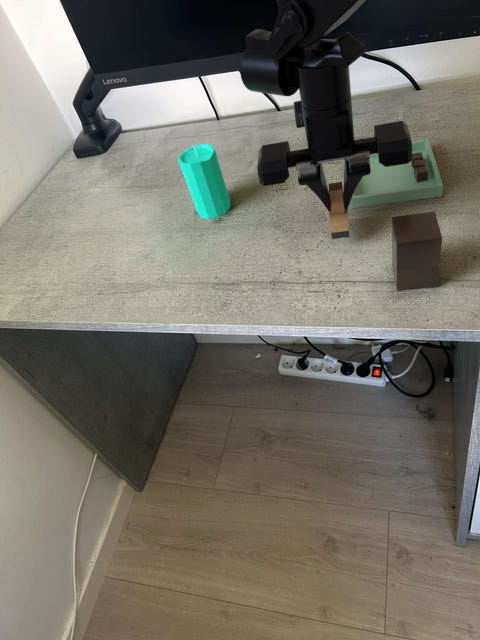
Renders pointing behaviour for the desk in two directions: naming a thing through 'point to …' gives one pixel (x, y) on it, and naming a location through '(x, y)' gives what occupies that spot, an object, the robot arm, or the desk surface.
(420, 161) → the crumb
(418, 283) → the dark brown block
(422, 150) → the tray
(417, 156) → the crumb
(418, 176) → the crumb
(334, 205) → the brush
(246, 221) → the desk surface
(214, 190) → the candle
